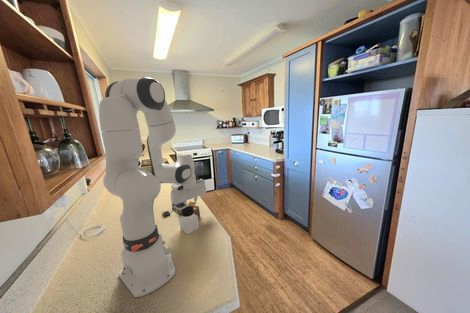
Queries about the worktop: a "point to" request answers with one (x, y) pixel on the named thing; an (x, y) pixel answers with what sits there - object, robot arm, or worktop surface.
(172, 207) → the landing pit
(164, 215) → the square nut
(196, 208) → the launch ramp
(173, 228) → the worktop surface
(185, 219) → the medicine bottle
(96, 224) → the worktop surface
